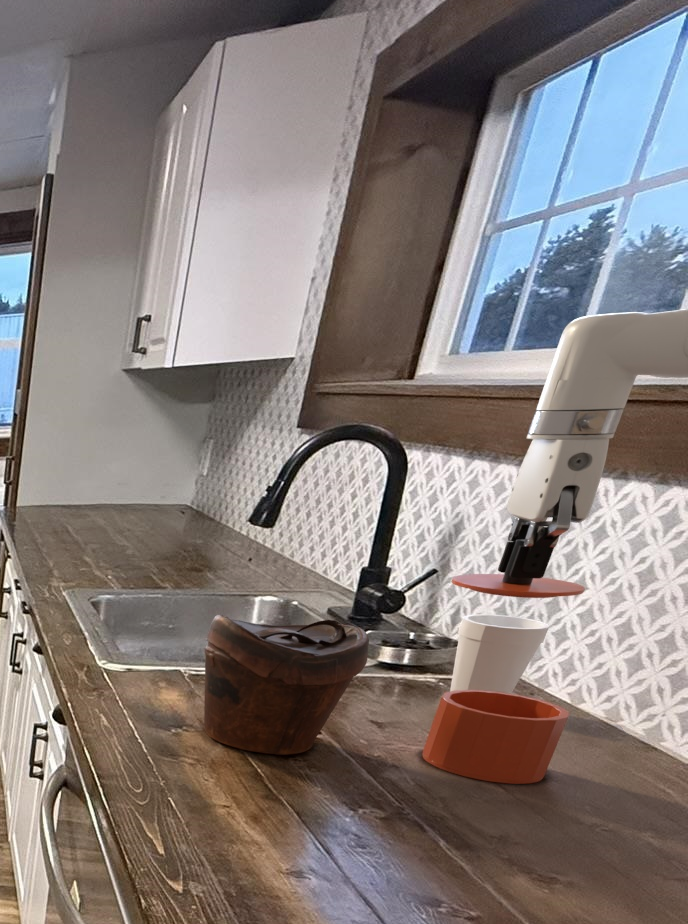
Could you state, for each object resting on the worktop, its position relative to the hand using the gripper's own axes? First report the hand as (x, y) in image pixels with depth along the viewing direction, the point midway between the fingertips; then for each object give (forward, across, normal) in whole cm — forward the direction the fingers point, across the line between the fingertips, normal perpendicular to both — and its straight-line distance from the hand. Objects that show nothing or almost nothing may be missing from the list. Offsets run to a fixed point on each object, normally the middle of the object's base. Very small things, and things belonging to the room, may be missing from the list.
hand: (519, 573), depth 109 cm
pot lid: (+2, 0, 0) cm, 2 cm away
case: (+23, -11, +26) cm, 36 cm away
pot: (+23, -12, +2) cm, 26 cm away
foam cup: (+23, +16, -6) cm, 29 cm away
